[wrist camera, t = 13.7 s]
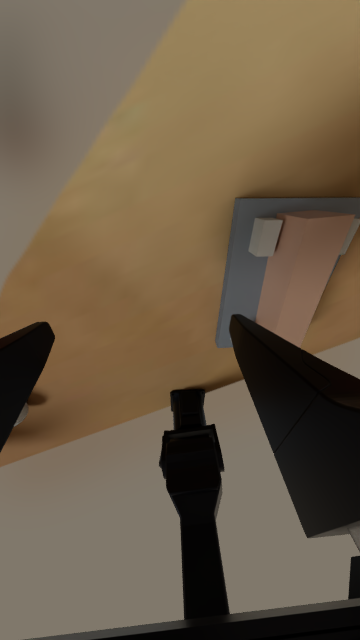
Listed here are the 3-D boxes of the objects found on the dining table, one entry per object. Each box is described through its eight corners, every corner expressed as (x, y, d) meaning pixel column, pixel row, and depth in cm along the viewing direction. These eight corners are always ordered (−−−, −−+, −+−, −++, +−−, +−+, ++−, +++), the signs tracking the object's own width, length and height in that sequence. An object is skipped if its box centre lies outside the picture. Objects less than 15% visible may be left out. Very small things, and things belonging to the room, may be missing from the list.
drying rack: (291, 337, 28) (306, 353, 25) (215, 341, 28) (221, 358, 25) (355, 197, 18) (391, 198, 15) (235, 198, 17) (249, 199, 14)
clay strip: (275, 339, 26) (293, 363, 22) (251, 341, 26) (265, 366, 22) (314, 210, 17) (355, 214, 13) (276, 213, 17) (308, 218, 13)
